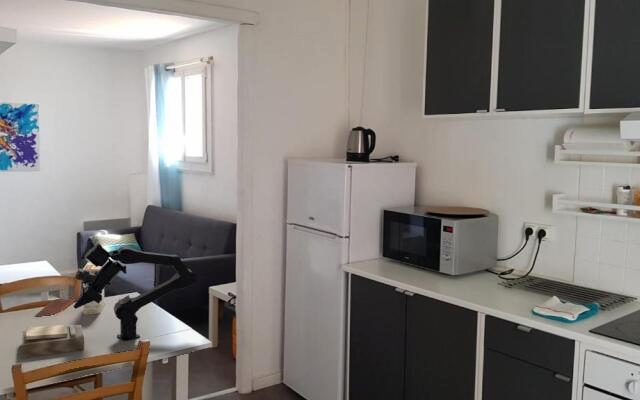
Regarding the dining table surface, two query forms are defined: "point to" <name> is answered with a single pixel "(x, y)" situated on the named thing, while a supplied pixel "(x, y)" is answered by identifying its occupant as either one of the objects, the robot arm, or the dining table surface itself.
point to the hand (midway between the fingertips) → (74, 307)
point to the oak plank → (46, 332)
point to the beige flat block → (54, 343)
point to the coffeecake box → (93, 306)
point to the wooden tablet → (55, 307)
